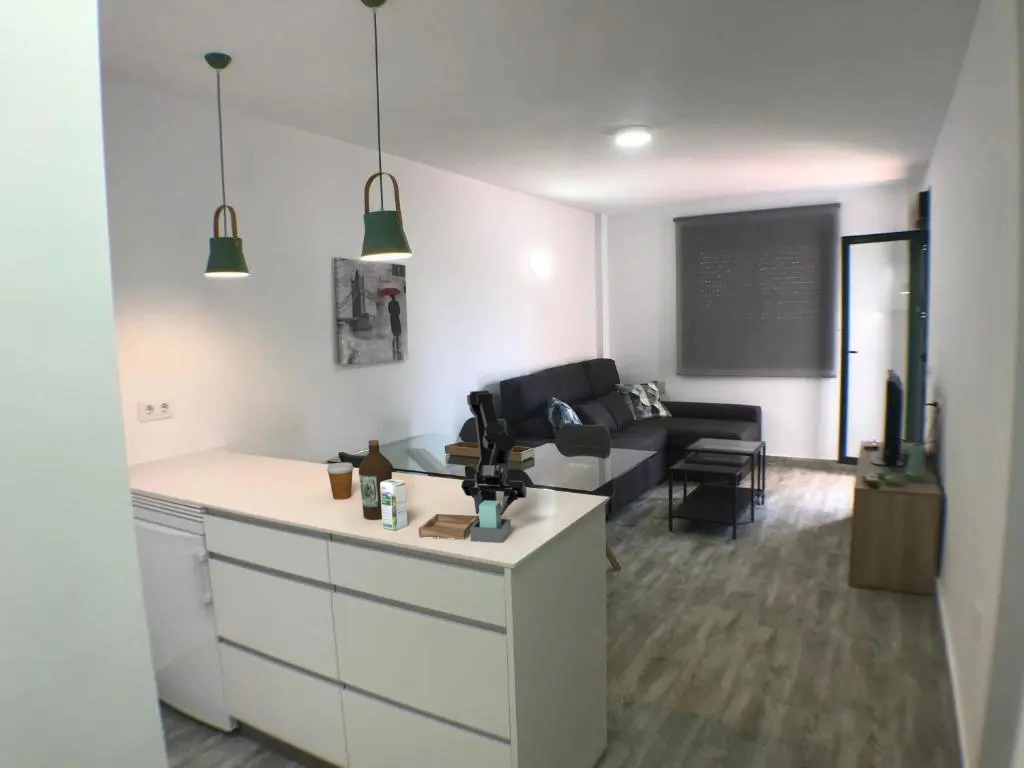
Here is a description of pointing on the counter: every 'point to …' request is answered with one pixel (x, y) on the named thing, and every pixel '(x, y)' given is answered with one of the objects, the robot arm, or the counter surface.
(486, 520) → the block
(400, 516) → the syrup box
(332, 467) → the disposable coffee cup
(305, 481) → the counter surface
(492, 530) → the holder
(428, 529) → the tray
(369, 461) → the olive oil
